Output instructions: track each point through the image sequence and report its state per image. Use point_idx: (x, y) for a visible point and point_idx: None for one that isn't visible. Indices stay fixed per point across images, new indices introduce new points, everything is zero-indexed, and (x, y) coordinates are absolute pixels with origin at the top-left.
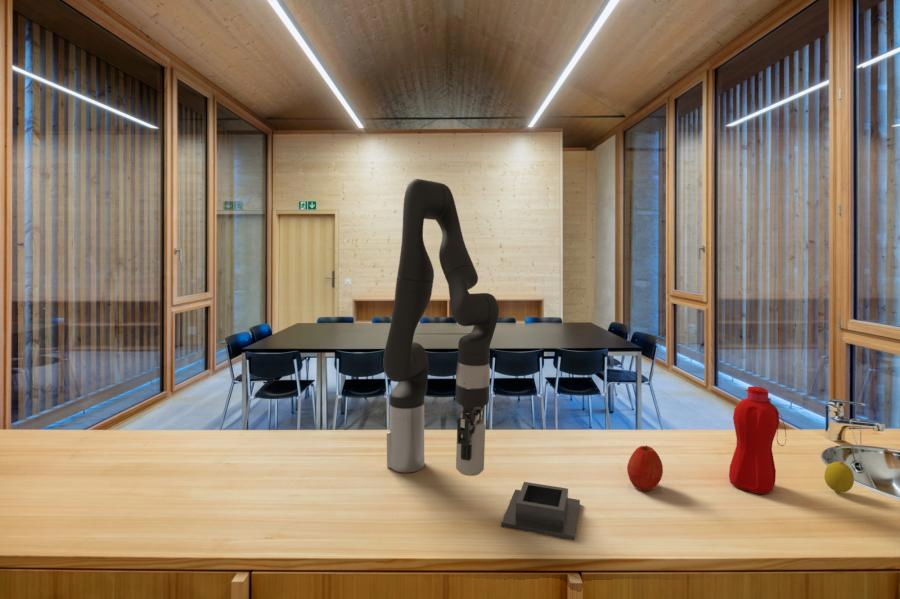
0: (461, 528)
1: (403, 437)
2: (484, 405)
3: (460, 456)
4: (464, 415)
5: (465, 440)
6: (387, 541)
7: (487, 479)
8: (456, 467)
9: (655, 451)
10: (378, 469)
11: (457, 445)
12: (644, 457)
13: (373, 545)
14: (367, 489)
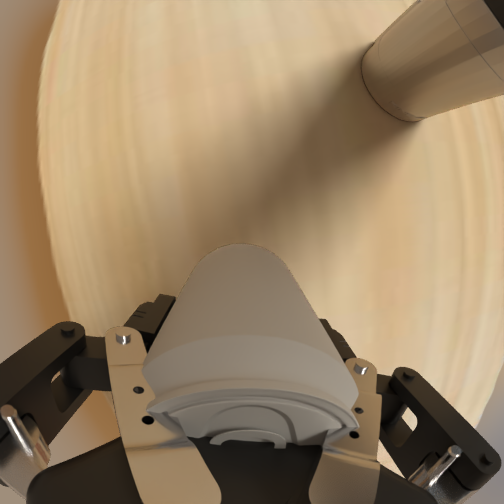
0: (123, 259)
1: (411, 31)
2: None
3: (183, 287)
4: (20, 493)
5: (62, 376)
6: (65, 123)
7: (363, 291)
8: (219, 248)
9: None
10: (361, 25)
11: (198, 284)
12: None
13: (56, 106)
14: (261, 13)
